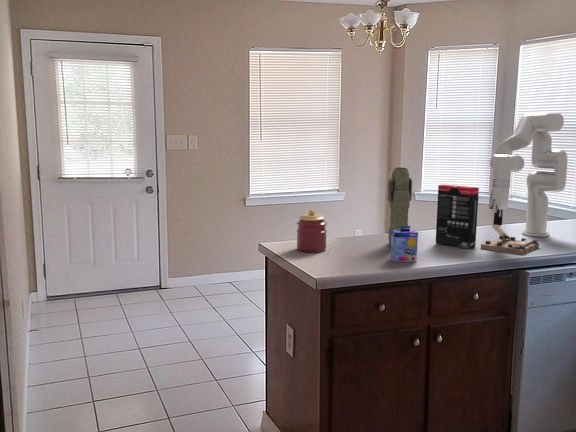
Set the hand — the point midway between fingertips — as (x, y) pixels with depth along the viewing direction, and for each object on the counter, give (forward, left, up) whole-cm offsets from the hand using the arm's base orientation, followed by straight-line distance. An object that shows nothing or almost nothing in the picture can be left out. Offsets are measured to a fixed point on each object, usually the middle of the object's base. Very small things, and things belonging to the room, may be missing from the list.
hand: (497, 225), depth 249 cm
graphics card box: (+8, -15, -11) cm, 20 cm away
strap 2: (-4, +10, -8) cm, 13 cm away
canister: (+59, -57, -11) cm, 83 cm away
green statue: (+24, -35, -11) cm, 44 cm away
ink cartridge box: (+49, -17, -11) cm, 53 cm away
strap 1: (-5, 0, -5) cm, 7 cm away
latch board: (-4, +5, -10) cm, 12 cm away
